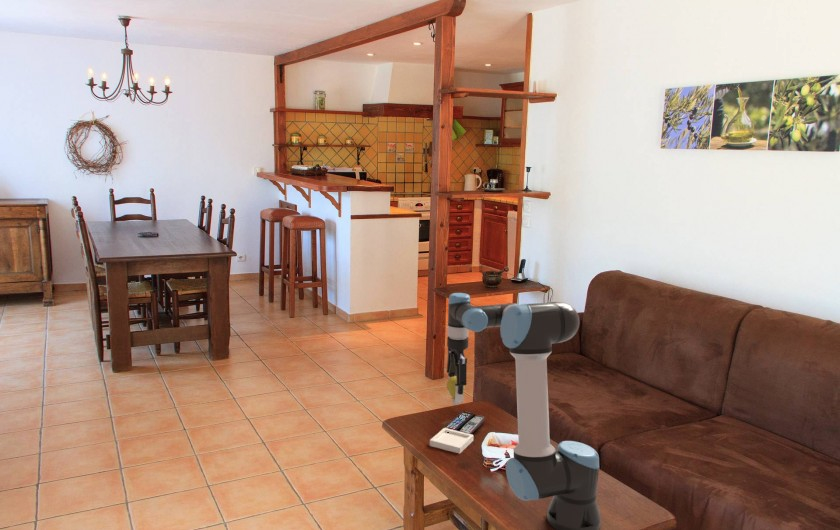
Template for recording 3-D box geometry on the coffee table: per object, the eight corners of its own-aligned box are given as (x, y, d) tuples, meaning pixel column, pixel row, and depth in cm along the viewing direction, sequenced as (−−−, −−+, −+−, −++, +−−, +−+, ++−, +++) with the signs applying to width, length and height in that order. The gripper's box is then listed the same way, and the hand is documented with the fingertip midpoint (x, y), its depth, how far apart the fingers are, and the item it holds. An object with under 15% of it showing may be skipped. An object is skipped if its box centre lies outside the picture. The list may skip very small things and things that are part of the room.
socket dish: (459, 453, 225) (460, 447, 225) (429, 445, 230) (429, 440, 230) (473, 440, 235) (473, 435, 235) (444, 433, 241) (444, 427, 240)
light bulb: (466, 401, 232) (466, 374, 231) (464, 407, 225) (464, 379, 225) (448, 400, 233) (447, 373, 232) (445, 406, 227) (445, 378, 226)
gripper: (478, 344, 217) (475, 407, 221) (458, 328, 236) (456, 386, 240) (457, 345, 215) (454, 409, 219) (439, 329, 233) (437, 388, 238)
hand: (455, 397), depth 229 cm, fingers closed on light bulb, 7 cm apart
